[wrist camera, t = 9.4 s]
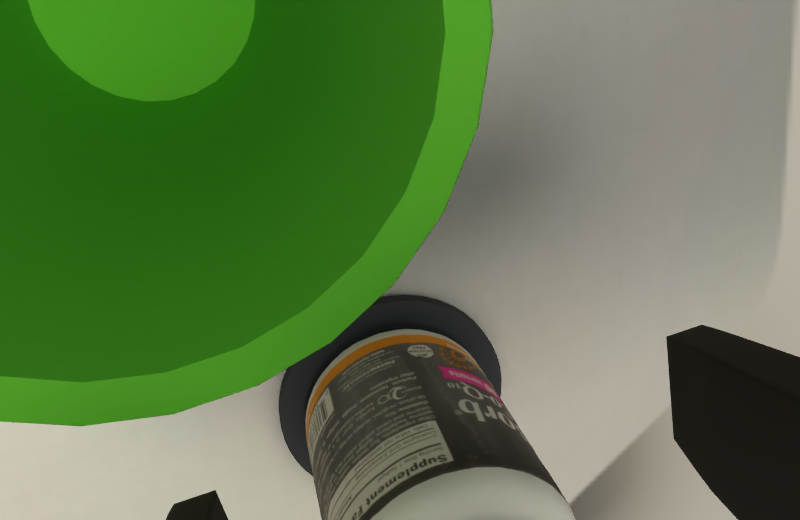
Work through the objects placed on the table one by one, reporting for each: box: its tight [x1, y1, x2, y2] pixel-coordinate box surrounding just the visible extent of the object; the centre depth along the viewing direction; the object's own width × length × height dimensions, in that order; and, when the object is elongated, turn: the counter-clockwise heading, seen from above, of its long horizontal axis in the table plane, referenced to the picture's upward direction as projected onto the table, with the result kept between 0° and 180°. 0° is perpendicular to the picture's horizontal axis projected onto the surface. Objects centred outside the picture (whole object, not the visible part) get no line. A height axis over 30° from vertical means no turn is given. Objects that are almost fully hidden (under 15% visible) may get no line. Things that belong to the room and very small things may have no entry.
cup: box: [0, 0, 493, 426], centre depth 12 cm, size 9×9×11 cm
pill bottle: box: [306, 329, 575, 520], centre depth 18 cm, size 6×6×10 cm
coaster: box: [279, 296, 501, 476], centre depth 23 cm, size 7×7×1 cm
